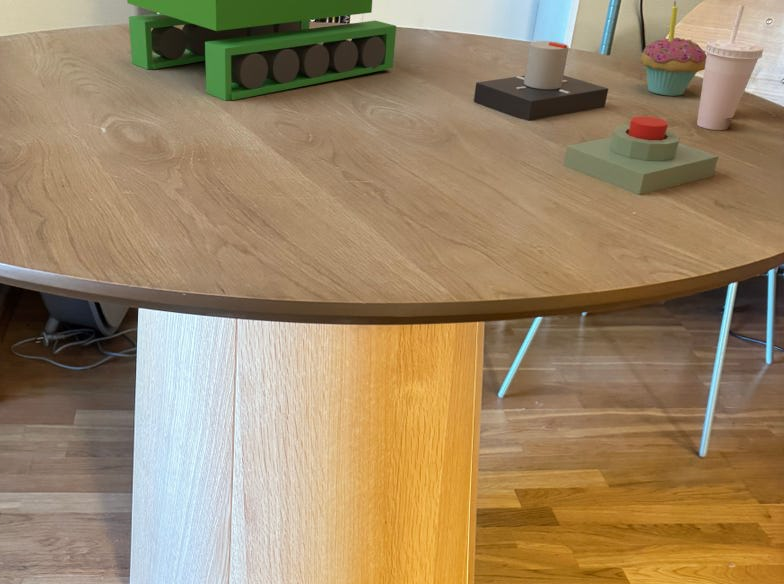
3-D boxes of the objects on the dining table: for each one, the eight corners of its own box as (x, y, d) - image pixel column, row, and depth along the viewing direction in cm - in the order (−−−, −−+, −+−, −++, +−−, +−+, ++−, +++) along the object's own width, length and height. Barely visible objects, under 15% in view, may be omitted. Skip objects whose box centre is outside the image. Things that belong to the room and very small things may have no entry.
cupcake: (659, 100, 119) (682, 6, 113) (621, 85, 126) (641, -5, 119) (710, 97, 121) (736, 5, 115) (670, 82, 128) (692, -6, 122)
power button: (642, 130, 94) (646, 114, 93) (671, 140, 91) (675, 123, 90) (620, 135, 92) (624, 118, 91) (648, 144, 89) (652, 127, 89)
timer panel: (548, 89, 122) (551, 70, 121) (604, 107, 115) (609, 87, 114) (473, 101, 115) (476, 81, 114) (528, 121, 108) (532, 99, 107)
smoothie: (704, 115, 113) (736, -1, 106) (750, 128, 109) (787, 8, 101) (675, 122, 110) (706, 3, 102) (721, 136, 106) (757, 12, 98)
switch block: (636, 149, 100) (644, 114, 98) (712, 176, 93) (723, 139, 91) (563, 165, 94) (570, 128, 92) (638, 195, 87) (648, 156, 85)
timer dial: (516, 83, 114) (523, 41, 111) (537, 78, 117) (544, 36, 114) (547, 91, 111) (555, 48, 108) (568, 86, 114) (576, 43, 111)
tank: (420, 67, 130) (432, -53, 122) (227, 101, 111) (225, -40, 103) (315, 38, 146) (320, -71, 138) (130, 62, 127) (122, -62, 118)
